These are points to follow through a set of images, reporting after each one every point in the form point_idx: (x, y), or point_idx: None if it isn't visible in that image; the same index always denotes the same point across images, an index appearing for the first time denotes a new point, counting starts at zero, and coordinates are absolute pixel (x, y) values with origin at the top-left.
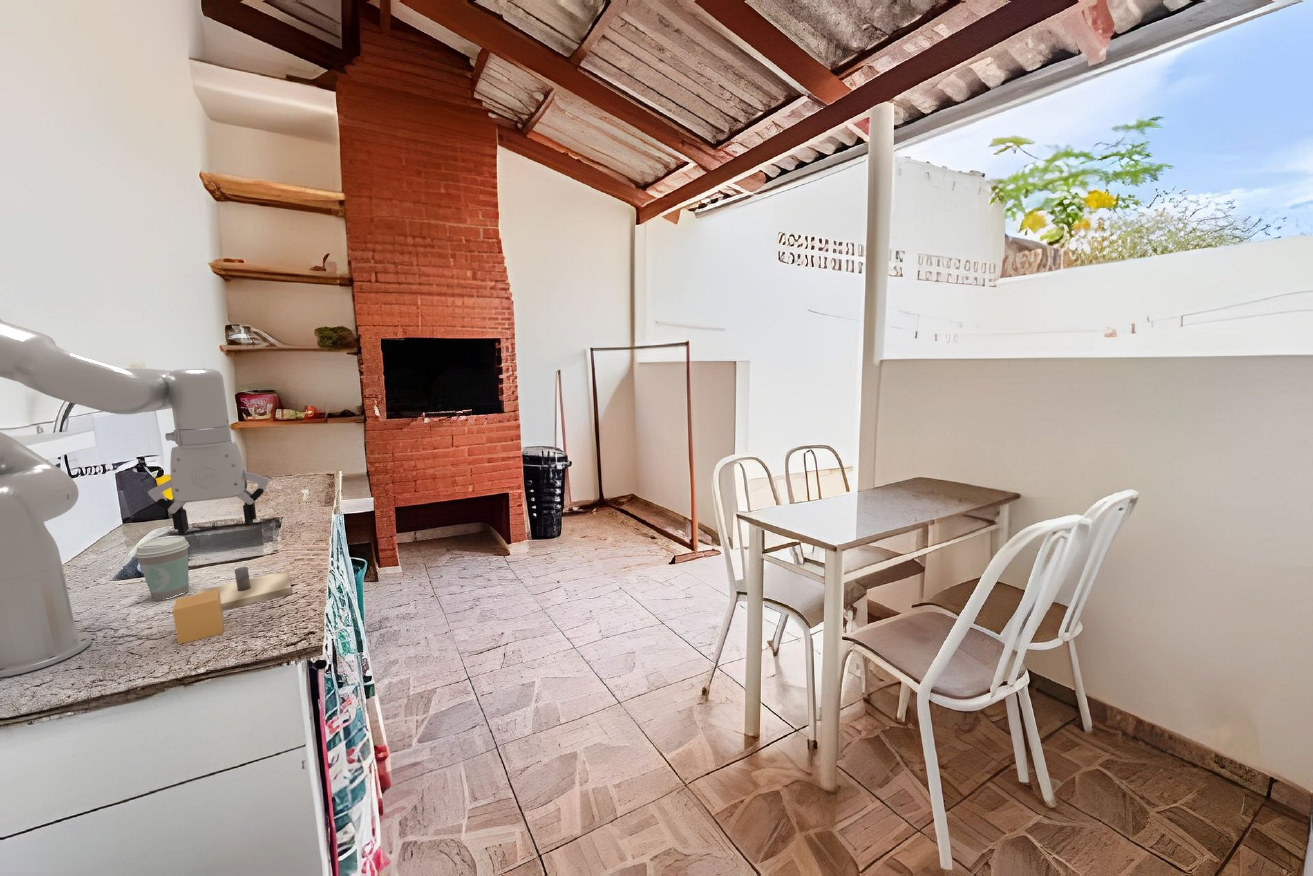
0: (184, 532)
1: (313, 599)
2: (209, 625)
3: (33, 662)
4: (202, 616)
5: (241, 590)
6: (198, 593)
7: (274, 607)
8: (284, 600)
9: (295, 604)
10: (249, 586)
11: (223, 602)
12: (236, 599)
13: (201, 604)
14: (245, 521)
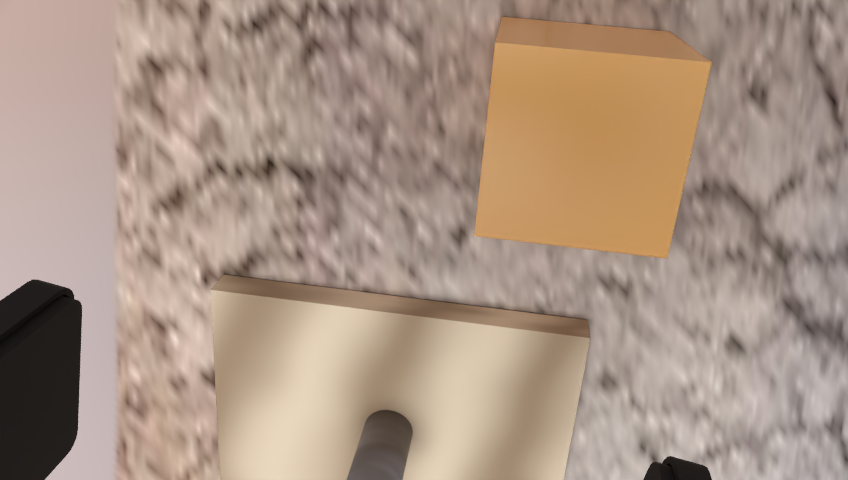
0: (647, 475)
1: (137, 127)
2: (547, 27)
3: None
4: (572, 37)
5: (398, 415)
6: None
7: (292, 168)
8: (253, 221)
9: (210, 129)
10: (366, 423)
11: (471, 333)
12: (422, 326)
13: (571, 50)
14: (45, 316)
